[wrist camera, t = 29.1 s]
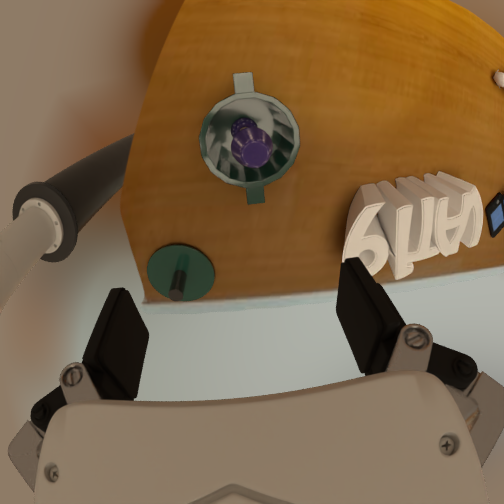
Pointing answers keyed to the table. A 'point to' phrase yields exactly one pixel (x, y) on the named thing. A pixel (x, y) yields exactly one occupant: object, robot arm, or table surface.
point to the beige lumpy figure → (499, 78)
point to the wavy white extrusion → (411, 221)
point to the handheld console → (496, 214)
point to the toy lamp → (250, 143)
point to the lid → (180, 272)
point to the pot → (267, 118)
